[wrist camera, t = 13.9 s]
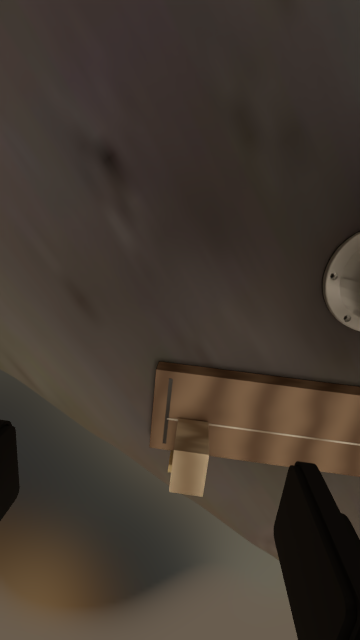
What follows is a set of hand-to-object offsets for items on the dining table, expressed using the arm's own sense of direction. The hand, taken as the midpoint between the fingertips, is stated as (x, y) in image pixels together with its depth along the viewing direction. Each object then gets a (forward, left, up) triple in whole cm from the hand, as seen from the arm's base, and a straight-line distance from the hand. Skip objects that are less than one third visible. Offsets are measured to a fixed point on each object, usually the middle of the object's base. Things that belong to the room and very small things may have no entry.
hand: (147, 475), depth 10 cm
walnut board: (-12, +15, -28) cm, 34 cm away
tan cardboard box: (-2, +19, -28) cm, 34 cm away
